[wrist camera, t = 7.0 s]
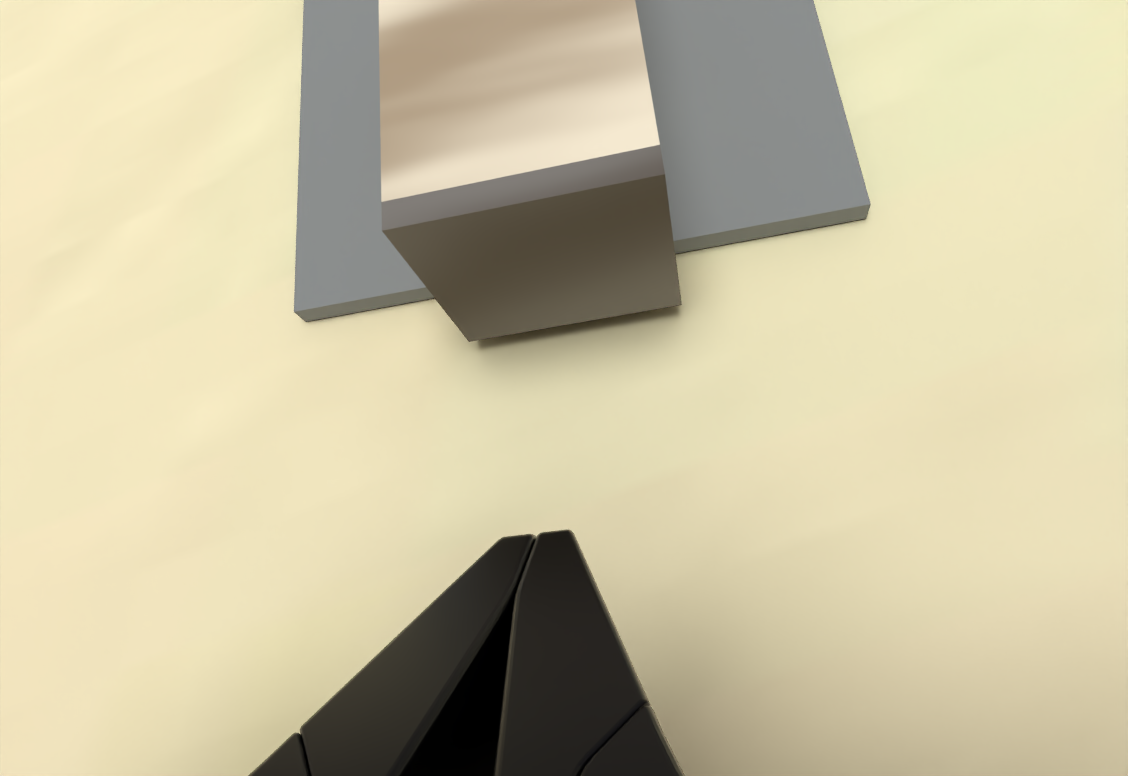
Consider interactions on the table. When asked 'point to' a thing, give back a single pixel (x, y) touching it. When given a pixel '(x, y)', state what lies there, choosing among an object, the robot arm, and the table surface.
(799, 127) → the mat
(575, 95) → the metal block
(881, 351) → the table surface
